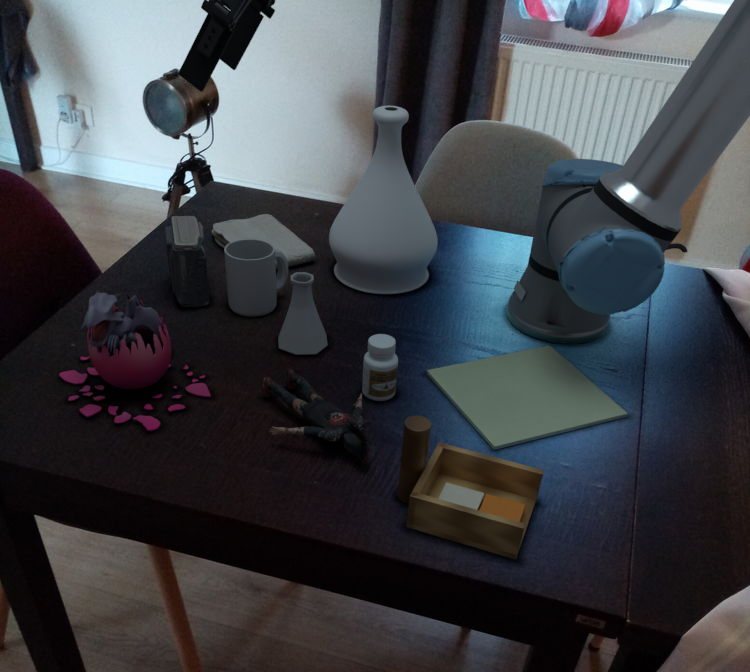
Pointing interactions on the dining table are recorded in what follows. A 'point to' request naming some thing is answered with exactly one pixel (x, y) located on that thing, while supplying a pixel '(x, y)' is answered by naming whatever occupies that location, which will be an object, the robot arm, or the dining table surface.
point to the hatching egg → (126, 353)
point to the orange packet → (503, 507)
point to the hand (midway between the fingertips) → (208, 71)
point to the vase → (384, 220)
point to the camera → (187, 261)
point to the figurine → (320, 415)
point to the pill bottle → (380, 368)
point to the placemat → (524, 396)
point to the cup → (254, 276)
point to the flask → (302, 320)
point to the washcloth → (265, 236)
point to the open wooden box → (469, 471)
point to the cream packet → (462, 496)
